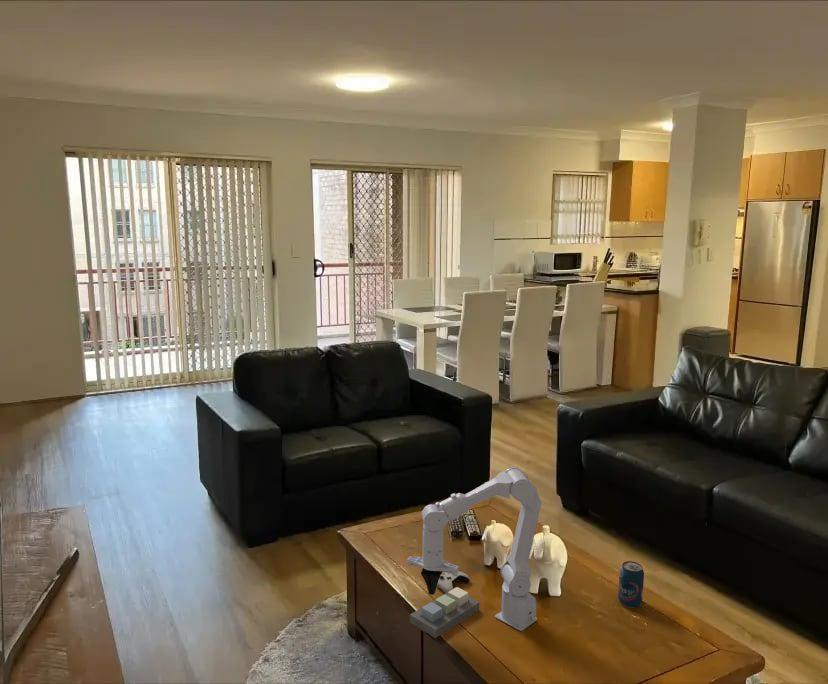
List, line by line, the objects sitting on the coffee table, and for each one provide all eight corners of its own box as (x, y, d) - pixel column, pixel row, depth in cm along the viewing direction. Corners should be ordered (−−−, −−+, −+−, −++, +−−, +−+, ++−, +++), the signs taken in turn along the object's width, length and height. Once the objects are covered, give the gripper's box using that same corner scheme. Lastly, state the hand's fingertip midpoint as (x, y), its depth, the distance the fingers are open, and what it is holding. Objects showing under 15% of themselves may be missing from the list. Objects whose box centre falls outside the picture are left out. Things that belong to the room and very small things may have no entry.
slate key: (442, 619, 190) (442, 608, 189) (432, 625, 187) (432, 614, 187) (431, 613, 193) (431, 601, 192) (421, 618, 190) (421, 607, 190)
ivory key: (468, 603, 198) (468, 592, 197) (459, 609, 195) (459, 598, 194) (456, 597, 201) (456, 586, 200) (447, 602, 198) (447, 592, 197)
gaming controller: (453, 595, 204) (439, 575, 206) (440, 603, 207) (427, 583, 209) (472, 579, 212) (460, 560, 214) (460, 587, 216) (448, 568, 218)
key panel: (479, 610, 198) (479, 602, 197) (435, 638, 184) (435, 629, 184) (453, 596, 204) (453, 588, 204) (409, 622, 191) (409, 614, 191)
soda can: (615, 605, 200) (618, 568, 198) (620, 594, 206) (622, 558, 204) (639, 611, 197) (642, 574, 195) (643, 600, 203) (646, 563, 201)
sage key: (455, 611, 194) (455, 600, 193) (446, 617, 191) (446, 605, 190) (444, 605, 197) (444, 594, 196) (434, 610, 194) (435, 599, 194)
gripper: (462, 546, 187) (461, 590, 190) (413, 537, 192) (413, 580, 195) (454, 558, 181) (453, 604, 183) (404, 548, 186) (404, 592, 188)
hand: (432, 592), depth 189 cm, fingers closed
